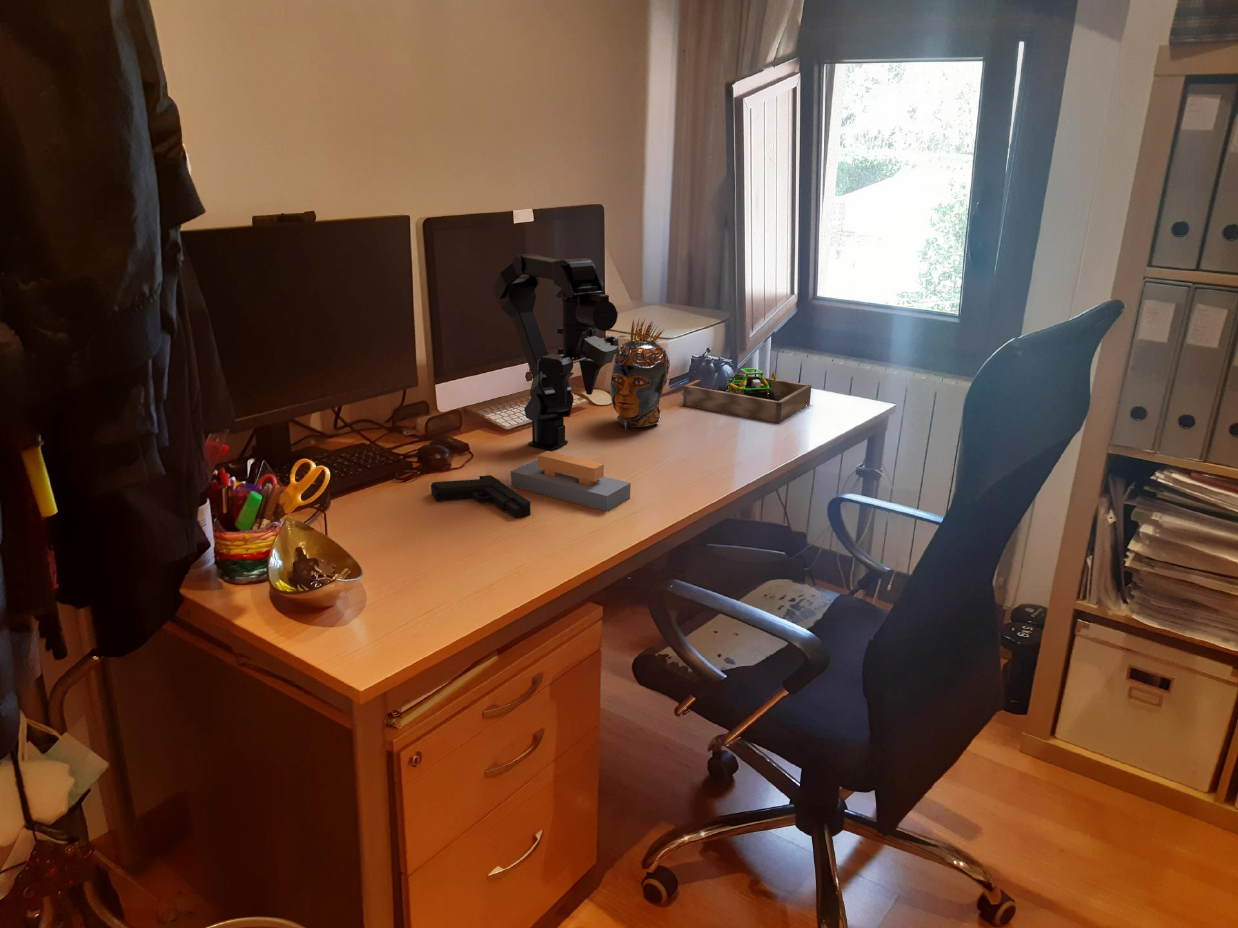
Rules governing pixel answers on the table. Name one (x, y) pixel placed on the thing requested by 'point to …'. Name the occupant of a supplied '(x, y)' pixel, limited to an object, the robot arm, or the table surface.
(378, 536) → the table surface
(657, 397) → the mask
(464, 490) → the handgun
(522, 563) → the table surface
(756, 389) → the motor vehicle
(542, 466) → the wooden arch block
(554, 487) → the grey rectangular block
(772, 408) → the tray
